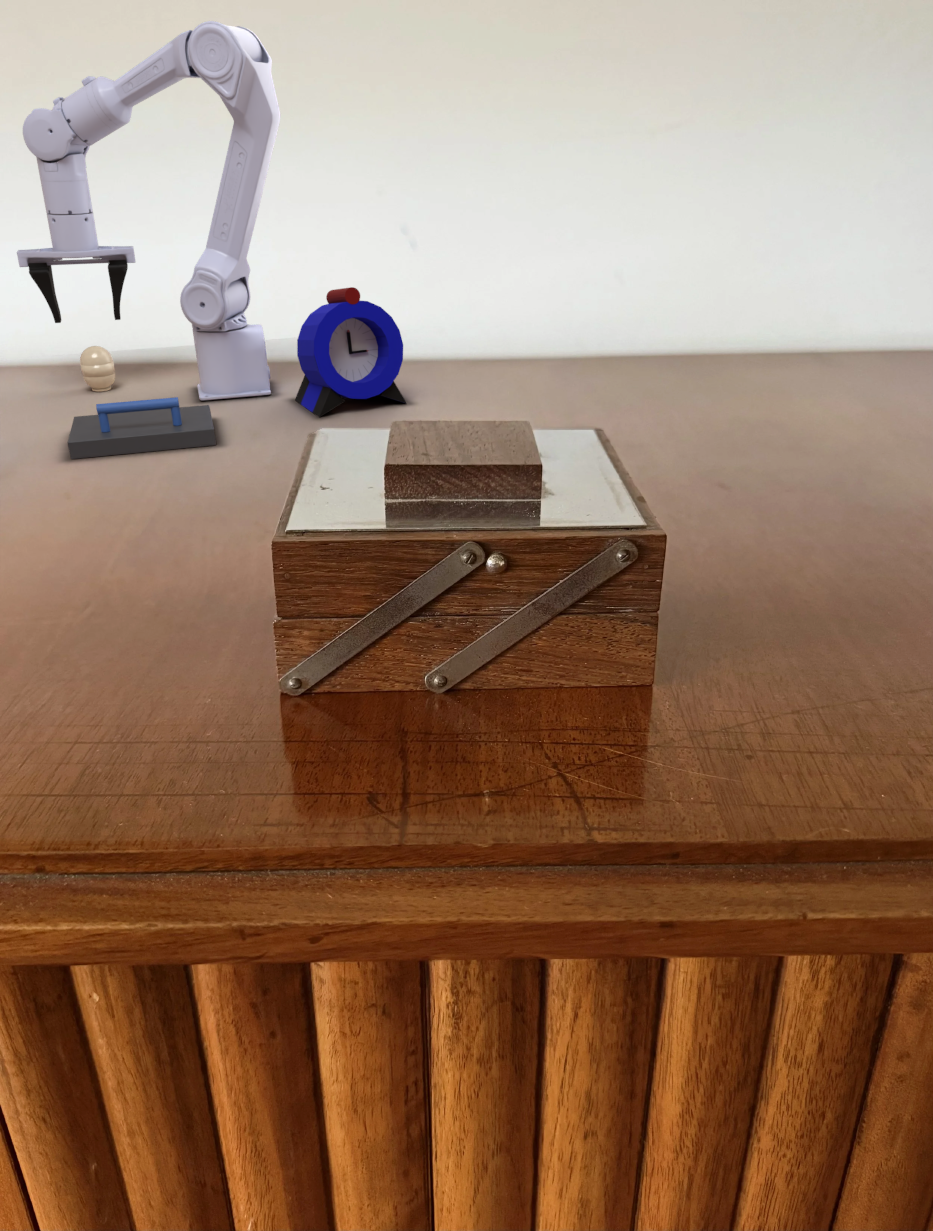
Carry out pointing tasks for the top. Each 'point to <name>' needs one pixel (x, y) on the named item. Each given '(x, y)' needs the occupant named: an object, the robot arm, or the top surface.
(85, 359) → the lidded jar
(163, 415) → the handle board
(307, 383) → the alarm clock
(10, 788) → the top surface
